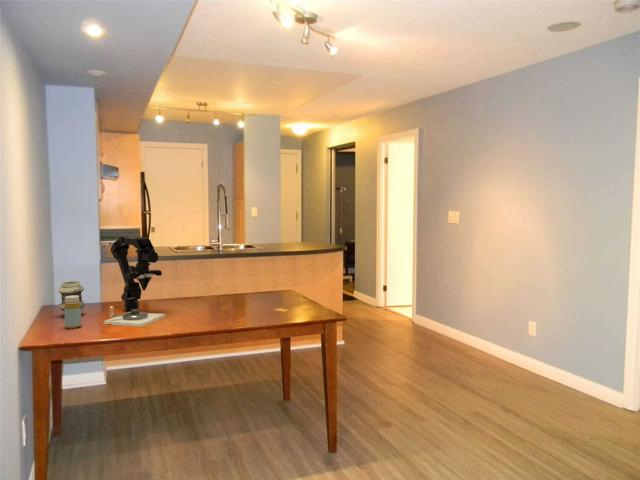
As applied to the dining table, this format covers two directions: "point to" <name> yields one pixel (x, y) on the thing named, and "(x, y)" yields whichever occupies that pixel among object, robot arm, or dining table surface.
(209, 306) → the dining table surface
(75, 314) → the bottle
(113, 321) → the white square plate
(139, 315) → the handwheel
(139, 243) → the robot arm
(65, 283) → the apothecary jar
